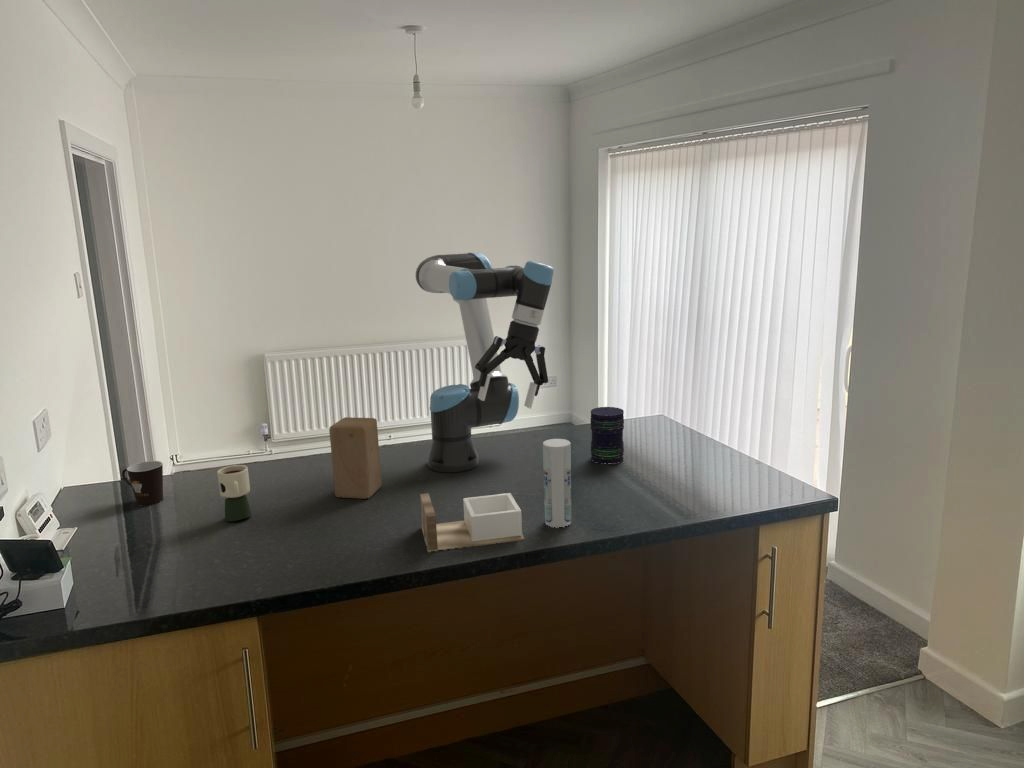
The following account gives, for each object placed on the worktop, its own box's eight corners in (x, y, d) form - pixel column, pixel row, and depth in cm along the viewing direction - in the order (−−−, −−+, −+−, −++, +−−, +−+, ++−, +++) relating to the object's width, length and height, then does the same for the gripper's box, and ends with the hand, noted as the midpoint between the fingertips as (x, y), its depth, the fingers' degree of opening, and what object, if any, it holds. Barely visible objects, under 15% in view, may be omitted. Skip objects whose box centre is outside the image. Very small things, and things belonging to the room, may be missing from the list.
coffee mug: (173, 500, 198) (167, 465, 196) (139, 510, 192) (134, 474, 190) (155, 490, 206) (150, 456, 204) (123, 499, 200) (117, 464, 197)
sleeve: (464, 521, 176) (463, 498, 175) (511, 516, 179) (510, 492, 177) (472, 541, 165) (471, 516, 164) (522, 535, 168) (521, 510, 166)
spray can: (544, 517, 179) (542, 438, 174) (571, 516, 179) (569, 438, 174) (544, 528, 172) (542, 447, 168) (572, 528, 172) (571, 446, 168)
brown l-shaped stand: (421, 527, 175) (419, 494, 174) (511, 516, 180) (509, 484, 178) (427, 552, 162) (425, 516, 160) (524, 539, 167) (523, 505, 165)
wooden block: (369, 500, 193) (363, 427, 189) (334, 498, 195) (327, 426, 191) (383, 486, 203) (377, 417, 198) (349, 485, 205) (343, 416, 200)
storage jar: (626, 464, 214) (626, 415, 211) (592, 465, 214) (592, 416, 211) (621, 453, 224) (621, 406, 221) (589, 454, 224) (588, 407, 221)
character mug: (221, 513, 188) (215, 465, 185) (250, 508, 191) (245, 460, 188) (225, 529, 178) (218, 478, 175) (256, 523, 181) (250, 473, 178)
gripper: (487, 315, 177) (466, 399, 180) (573, 335, 188) (552, 414, 191) (475, 310, 183) (455, 392, 186) (560, 330, 194) (539, 406, 198)
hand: (504, 403), depth 189 cm, fingers open, 13 cm apart
